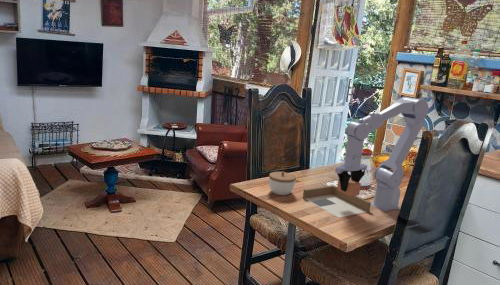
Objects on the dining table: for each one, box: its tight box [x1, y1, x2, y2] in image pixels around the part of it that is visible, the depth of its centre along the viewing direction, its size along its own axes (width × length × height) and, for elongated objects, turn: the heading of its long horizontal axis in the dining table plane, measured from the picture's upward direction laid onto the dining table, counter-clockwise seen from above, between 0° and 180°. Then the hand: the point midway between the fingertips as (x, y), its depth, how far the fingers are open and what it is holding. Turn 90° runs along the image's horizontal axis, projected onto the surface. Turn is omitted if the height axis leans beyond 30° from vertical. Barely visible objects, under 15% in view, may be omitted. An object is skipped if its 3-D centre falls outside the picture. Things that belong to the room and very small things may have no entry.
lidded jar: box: [268, 171, 297, 196], centre depth 152 cm, size 11×11×9 cm
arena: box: [302, 184, 372, 219], centre depth 145 cm, size 16×20×4 cm
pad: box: [310, 199, 336, 208], centre depth 146 cm, size 8×6×1 cm
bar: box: [336, 178, 362, 197], centre depth 140 cm, size 7×4×4 cm, turn 31°
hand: (348, 189), depth 140 cm, fingers closed on bar, 4 cm apart
